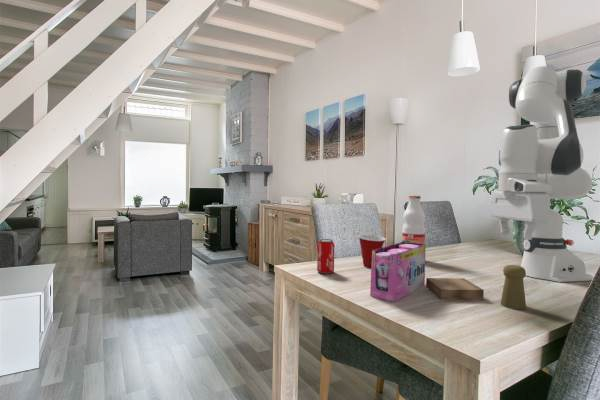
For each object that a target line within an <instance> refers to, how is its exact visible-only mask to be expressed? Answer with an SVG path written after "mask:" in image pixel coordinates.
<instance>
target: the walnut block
mask: <svg viewBox="0 0 600 400" xmlns="http://www.w3.org/2000/svg"><path fill="white" fill-rule="evenodd" d="M425 288H426V289H427V288H428V289H427V290H428V291H430V292H431V293H432V294H433V295H435V297H437V298H438V299H439V300H441V301H484V289H482V287H480V286H478V285H476V284H474V283H473V282H471V281H469V280H468V279H466V278H461V277H460V278H458V277H457V278H455V277H454V278H453V277H452V278H451V277H450V278H449V277H425Z"/></svg>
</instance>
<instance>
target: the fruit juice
mask: <svg viewBox="0 0 600 400" xmlns="http://www.w3.org/2000/svg"><path fill="white" fill-rule="evenodd" d="M408 200H409V201H408V204H407V206H406V207H405V208H406V209H405V210H404V213H403V214H402V219H403V225H402V230H401V232H402V235H401V236H402V237H401V242H411V243H420V244H426V225H425V220H426V213H425V212H424V209H423V208H422V204H421V195H408Z"/></svg>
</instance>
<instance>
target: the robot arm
mask: <svg viewBox="0 0 600 400" xmlns="http://www.w3.org/2000/svg"><path fill="white" fill-rule="evenodd" d="M586 87H587V80H586V77H585V75H584V74H583V71H582V70H580V69H567V70H562V71H556V70H555V69H554V68H552V67H550V66H546V65H540V66H537V67H534V68H531V69H530V70H529V71H528V72H527V73H526V74H525V75H524V76H523V78H520V79H517V80H516V81H514V82H513V83H511V84H510V86H509V88H508V92H507V100H508V103H509V105H510V107H512V109H515V111H516V113H517V114H518V115H519V117H521V119H523V120H525V121H526V122H529V124H518V125H509V126H507V127H505V128H504V129H503V131H502V134H501V135H502V136H501V139H500V148H499V151H498V152H499V153H498V165H499V166H500V169H499V172H498V186H497V187H496V188H495V190H494V192H493V193H492V196H491V201H490V211H489V212H490V215H491V217H494V218H498V223H499V226H500V234H501V235H510V234H511V228H510V227H509V220H514V221H519V222H524V224H523V225H524V230H523V231H522V232H521V239H523V240H522V241H523V243H522V244H523V245H522V246H523V254H522V260H521V264H520V266H521V267H523V268H524V269H525V271H526V276H525V277H531V278H535V279H540V280H547V281H552V282H558V283H563V282H564V283H566V282H588V281H593V280H592V279H593V277H594V276H592V274H588V273H587V268H586V265H585V261H584V260H583V259H582V258H580V257H578V256H577V255H576V254H574V253H573V252H572V251H571V250H569V249H568V247H567V246H573V245H574V244H575V241H573V240H572V239H567V238H566V239H565V238H563V226H564V225H563V224H564V219H563V216H562V214H561V213H560V212H558V211H556V210H554V209H552V208H551V199H553V200H554V199H555V200H570V199H571V200H573V199H579V198H583V197H585V196H586V195H588V193H589V192H590V190H591V189H592V186H593V185H592V184H593V181H592V180H593V179H592V177H591V175H590V174H589V173H588V171H586V170H585V169H583V168H581V166H582V164H583V161H584V149H583V147H582V143H580V139H579V137H578V136H579V135H578V131H577V126H576V122H575V121H576V120H575V116H574V112H573V109H572V105H573V104H574V103H576V102H578V101H579V99H581V98H582V97H583V94H584V92H585V90H586Z"/></svg>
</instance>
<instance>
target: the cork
mask: <svg viewBox="0 0 600 400" xmlns="http://www.w3.org/2000/svg"><path fill="white" fill-rule="evenodd" d="M502 271H503V272H502V273H503V276H504V283H503V288H502V293H501V300H500V302H499V303H500V305H501V306H502V307H504V308H507V309H510V308H513V309H512V310H516V309H524V310H526V309H527V303H526V293H525V284H524V279H525V278H526V277H527V276H526V271H525V269H524V268H523V267H521V265H517V264H507V265H505V266H504V267H503V269H502Z"/></svg>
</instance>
